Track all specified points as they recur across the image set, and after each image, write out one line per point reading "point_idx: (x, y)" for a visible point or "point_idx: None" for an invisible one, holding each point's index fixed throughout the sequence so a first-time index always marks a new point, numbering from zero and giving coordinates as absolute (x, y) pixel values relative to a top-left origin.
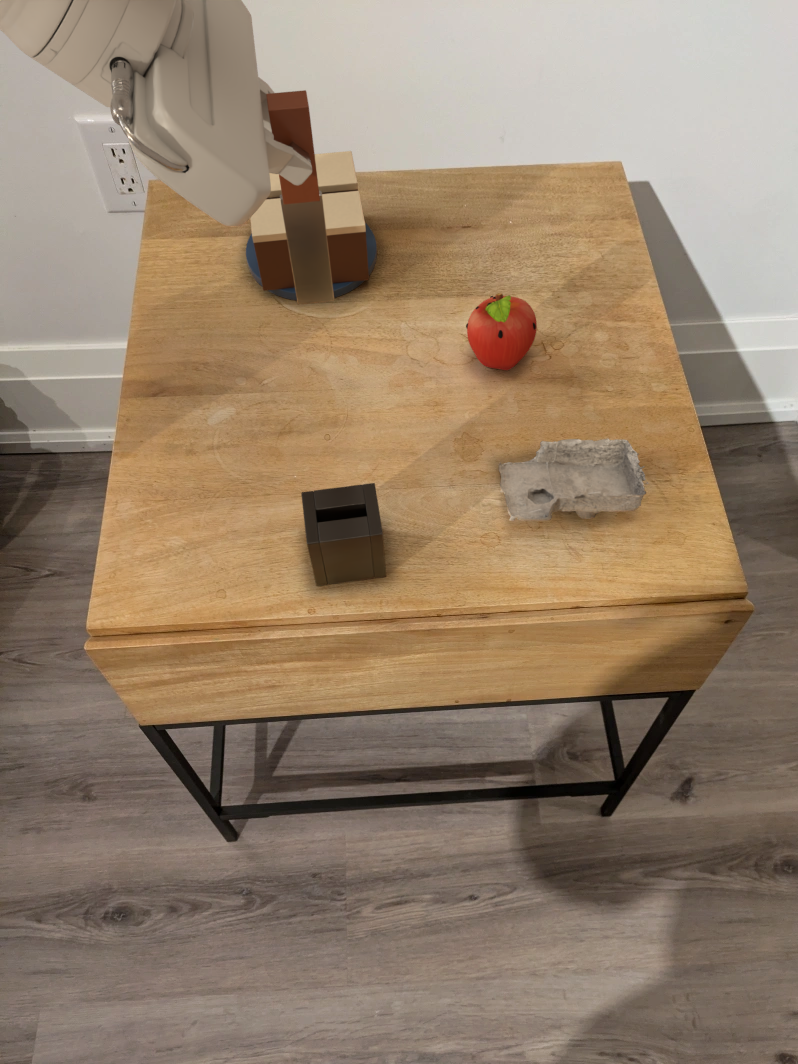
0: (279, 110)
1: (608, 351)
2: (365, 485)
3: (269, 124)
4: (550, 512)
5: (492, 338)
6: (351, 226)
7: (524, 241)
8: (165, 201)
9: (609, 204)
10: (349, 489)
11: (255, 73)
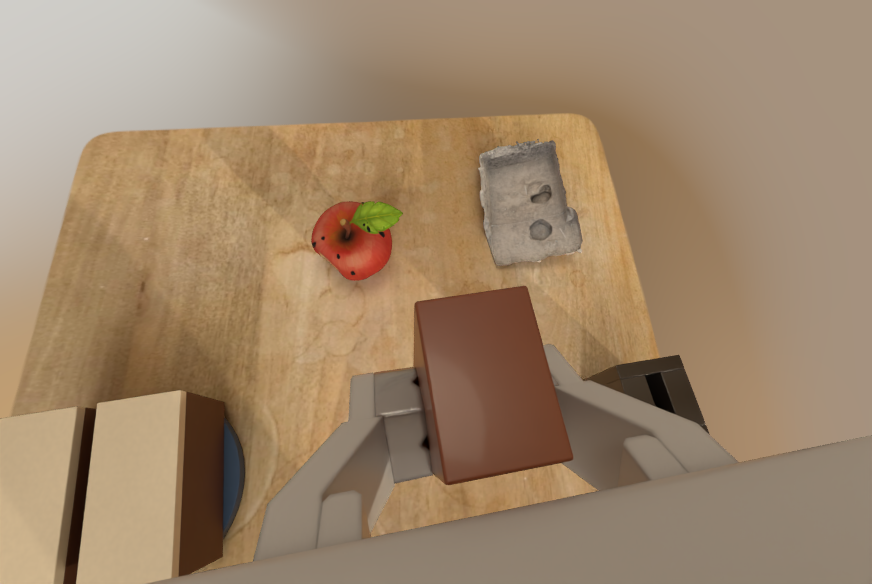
0: (559, 407)
1: (353, 165)
2: (621, 375)
3: (378, 495)
4: (576, 216)
5: (383, 244)
6: (179, 410)
7: (182, 226)
8: None
9: (141, 142)
10: (629, 393)
11: (364, 558)
